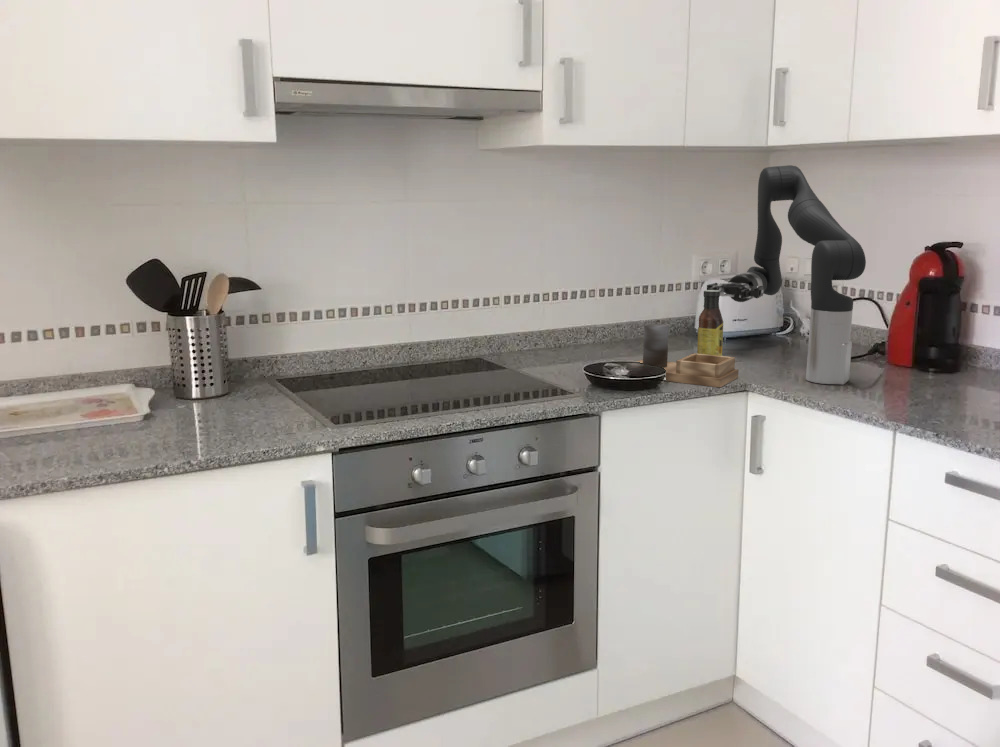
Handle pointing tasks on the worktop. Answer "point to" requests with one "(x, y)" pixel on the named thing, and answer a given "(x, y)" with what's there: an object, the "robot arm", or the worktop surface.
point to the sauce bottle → (710, 325)
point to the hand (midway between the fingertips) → (726, 293)
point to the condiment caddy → (686, 361)
